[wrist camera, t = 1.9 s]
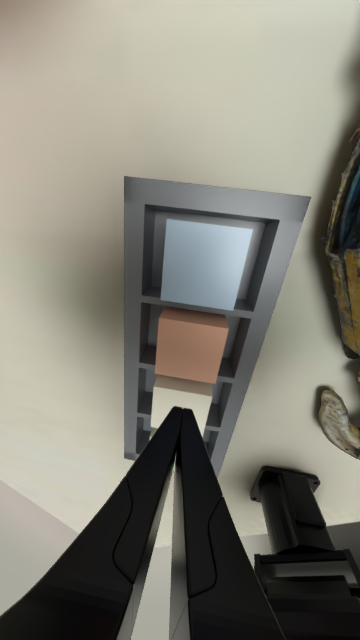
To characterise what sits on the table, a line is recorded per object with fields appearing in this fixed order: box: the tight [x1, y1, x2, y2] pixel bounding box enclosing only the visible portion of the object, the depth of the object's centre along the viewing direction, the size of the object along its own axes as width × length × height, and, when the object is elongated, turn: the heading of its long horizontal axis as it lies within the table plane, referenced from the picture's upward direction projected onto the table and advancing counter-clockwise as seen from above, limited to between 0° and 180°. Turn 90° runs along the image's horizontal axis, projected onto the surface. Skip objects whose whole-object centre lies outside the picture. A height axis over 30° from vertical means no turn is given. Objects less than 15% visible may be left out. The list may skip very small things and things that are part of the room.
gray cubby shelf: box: [124, 176, 311, 477], centre depth 17 cm, size 25×10×3 cm, turn 173°
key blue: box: [160, 219, 253, 311], centre depth 12 cm, size 4×4×2 cm
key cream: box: [151, 374, 212, 437], centre depth 16 cm, size 4×4×2 cm
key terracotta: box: [155, 306, 229, 384], centre depth 14 cm, size 4×4×2 cm
